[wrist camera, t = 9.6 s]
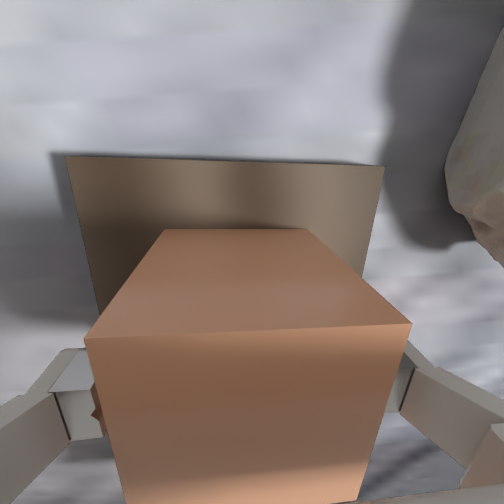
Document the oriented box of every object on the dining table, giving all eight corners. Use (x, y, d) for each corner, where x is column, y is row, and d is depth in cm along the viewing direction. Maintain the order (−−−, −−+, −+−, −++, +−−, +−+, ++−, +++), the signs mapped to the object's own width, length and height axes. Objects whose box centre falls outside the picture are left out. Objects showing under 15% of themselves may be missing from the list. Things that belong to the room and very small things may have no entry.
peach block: (307, 228, 12) (412, 323, 5) (294, 340, 14) (356, 500, 8) (164, 228, 11) (83, 338, 5) (176, 346, 13) (132, 529, 7)
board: (370, 165, 12) (385, 166, 11) (301, 524, 24) (305, 542, 23) (81, 156, 11) (64, 156, 10) (158, 544, 22) (154, 564, 21)
